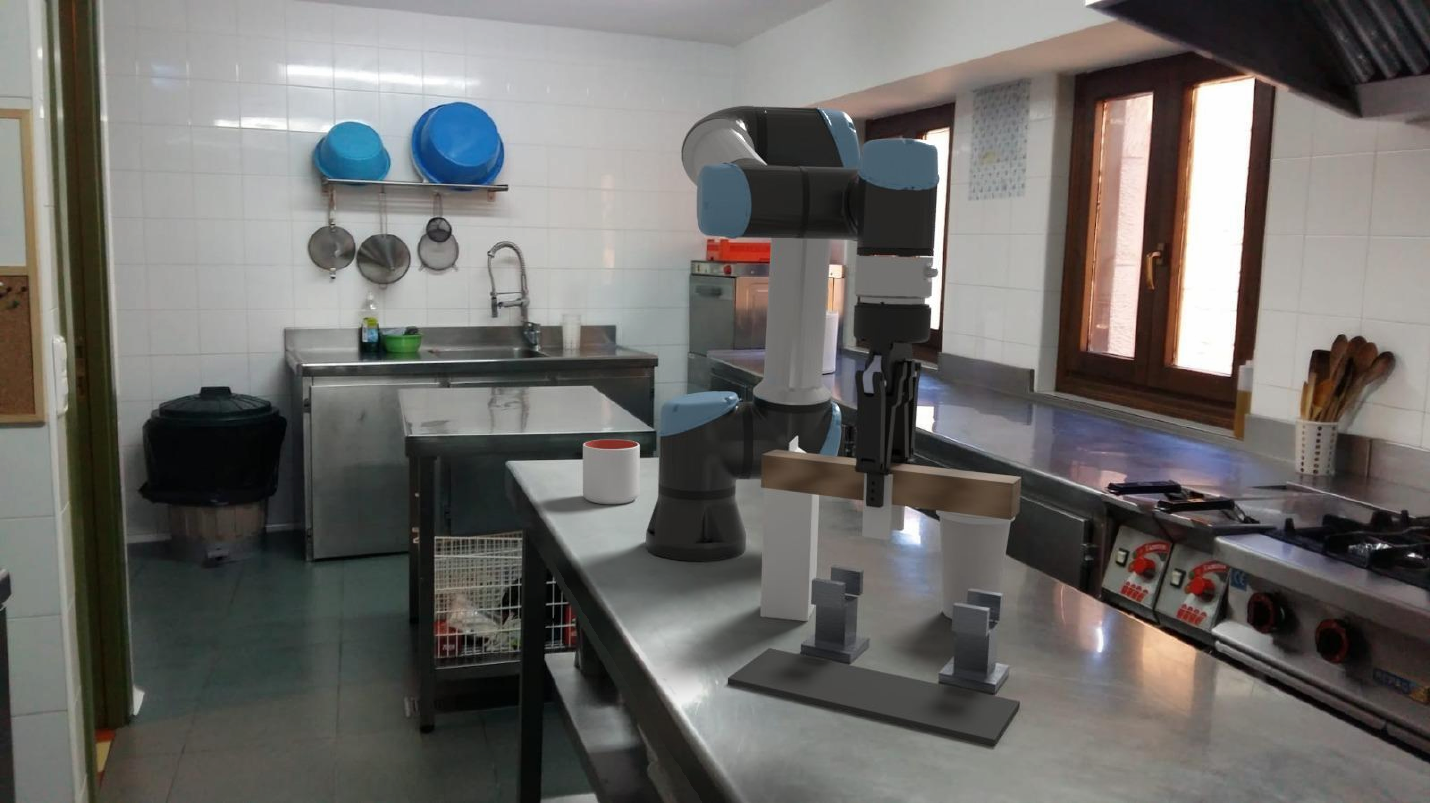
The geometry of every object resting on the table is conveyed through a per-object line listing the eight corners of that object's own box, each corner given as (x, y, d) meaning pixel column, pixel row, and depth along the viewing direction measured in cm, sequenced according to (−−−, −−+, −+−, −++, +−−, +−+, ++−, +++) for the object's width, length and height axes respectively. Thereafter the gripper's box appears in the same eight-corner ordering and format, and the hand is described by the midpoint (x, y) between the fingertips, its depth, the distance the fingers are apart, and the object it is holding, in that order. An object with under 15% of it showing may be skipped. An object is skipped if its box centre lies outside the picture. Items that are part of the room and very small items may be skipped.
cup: (650, 498, 197) (650, 443, 195) (616, 508, 188) (616, 451, 187) (606, 490, 202) (606, 437, 201) (571, 500, 194) (571, 445, 192)
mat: (727, 683, 115) (727, 677, 115) (768, 652, 124) (769, 647, 124) (994, 745, 102) (994, 739, 102) (1019, 706, 111) (1019, 701, 110)
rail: (760, 487, 115) (761, 454, 114) (774, 481, 118) (775, 449, 118) (1011, 519, 103) (1013, 483, 103) (1019, 512, 106) (1021, 476, 106)
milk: (760, 617, 136) (763, 442, 132) (769, 601, 141) (773, 433, 138) (808, 622, 134) (813, 444, 131) (816, 606, 140) (821, 436, 137)
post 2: (937, 682, 116) (941, 602, 115) (955, 662, 122) (959, 586, 121) (994, 694, 113) (999, 612, 112) (1009, 673, 119) (1014, 595, 118)
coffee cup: (916, 606, 140) (921, 492, 138) (977, 598, 144) (983, 487, 142) (960, 631, 132) (967, 510, 130) (1024, 622, 136) (1032, 504, 133)
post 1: (799, 653, 124) (801, 578, 122) (822, 635, 129) (824, 563, 128) (849, 663, 121) (852, 586, 120) (870, 645, 127) (873, 571, 125)
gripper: (903, 305, 99) (892, 557, 102) (953, 299, 113) (942, 520, 117) (825, 302, 102) (817, 546, 105) (884, 296, 117) (875, 511, 120)
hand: (883, 532), depth 111 cm, fingers closed on rail, 3 cm apart
